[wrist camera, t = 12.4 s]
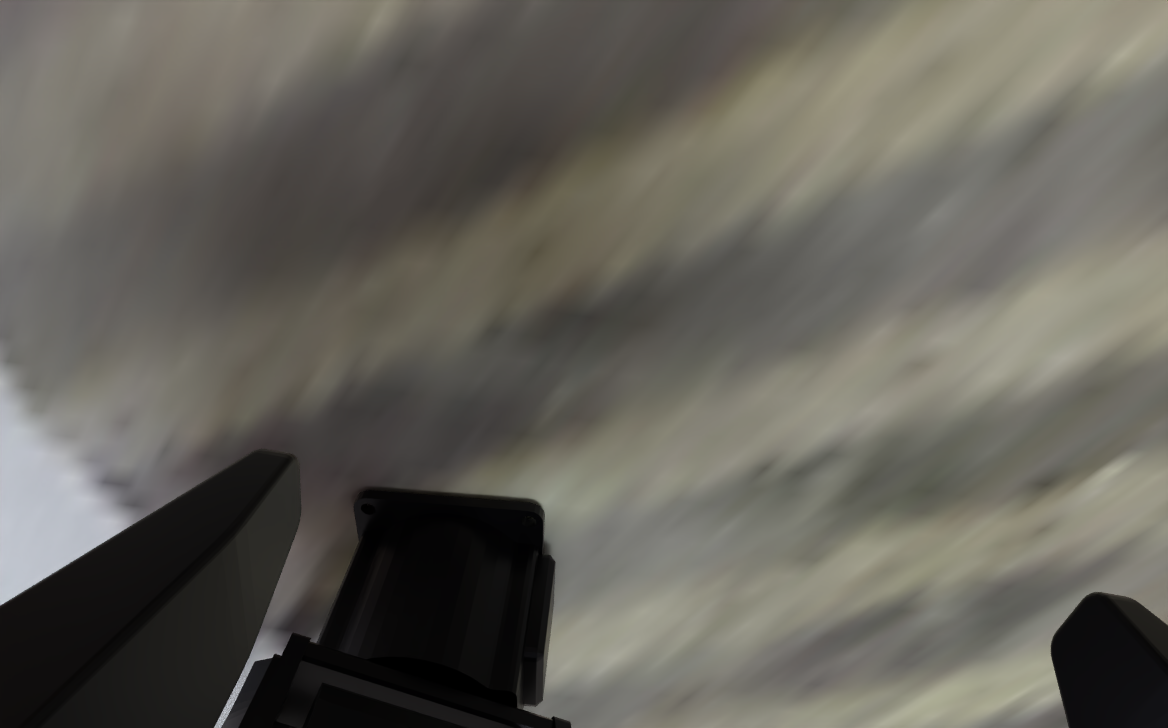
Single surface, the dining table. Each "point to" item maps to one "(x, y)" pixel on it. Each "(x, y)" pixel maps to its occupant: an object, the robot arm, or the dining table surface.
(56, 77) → the dining table surface
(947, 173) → the dining table surface
